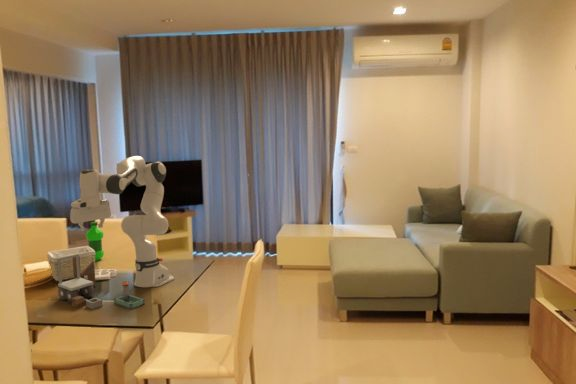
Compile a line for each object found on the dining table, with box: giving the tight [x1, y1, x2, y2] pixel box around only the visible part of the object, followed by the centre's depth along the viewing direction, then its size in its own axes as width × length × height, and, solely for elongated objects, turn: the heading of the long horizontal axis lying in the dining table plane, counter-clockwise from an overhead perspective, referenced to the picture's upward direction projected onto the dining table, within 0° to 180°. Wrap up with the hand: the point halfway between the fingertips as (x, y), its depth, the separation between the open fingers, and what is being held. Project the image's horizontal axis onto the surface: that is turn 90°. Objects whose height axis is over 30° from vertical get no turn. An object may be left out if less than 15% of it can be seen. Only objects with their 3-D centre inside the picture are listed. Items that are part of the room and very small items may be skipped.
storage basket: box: [46, 245, 96, 282], centre depth 284 cm, size 24×16×15 cm
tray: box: [114, 294, 145, 310], centre depth 239 cm, size 8×13×2 cm, turn 55°
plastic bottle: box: [85, 221, 105, 262], centre depth 314 cm, size 10×10×25 cm
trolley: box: [57, 254, 103, 310], centre depth 242 cm, size 12×27×21 cm, turn 55°
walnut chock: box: [71, 295, 85, 309], centre depth 236 cm, size 4×4×4 cm
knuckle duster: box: [83, 268, 118, 282], centre depth 281 cm, size 3×18×15 cm
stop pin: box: [121, 280, 130, 303], centre depth 237 cm, size 3×3×11 cm
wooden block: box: [73, 256, 96, 288], centre depth 262 cm, size 4×11×18 cm, turn 119°
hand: (92, 229), depth 238 cm, fingers open, 8 cm apart
